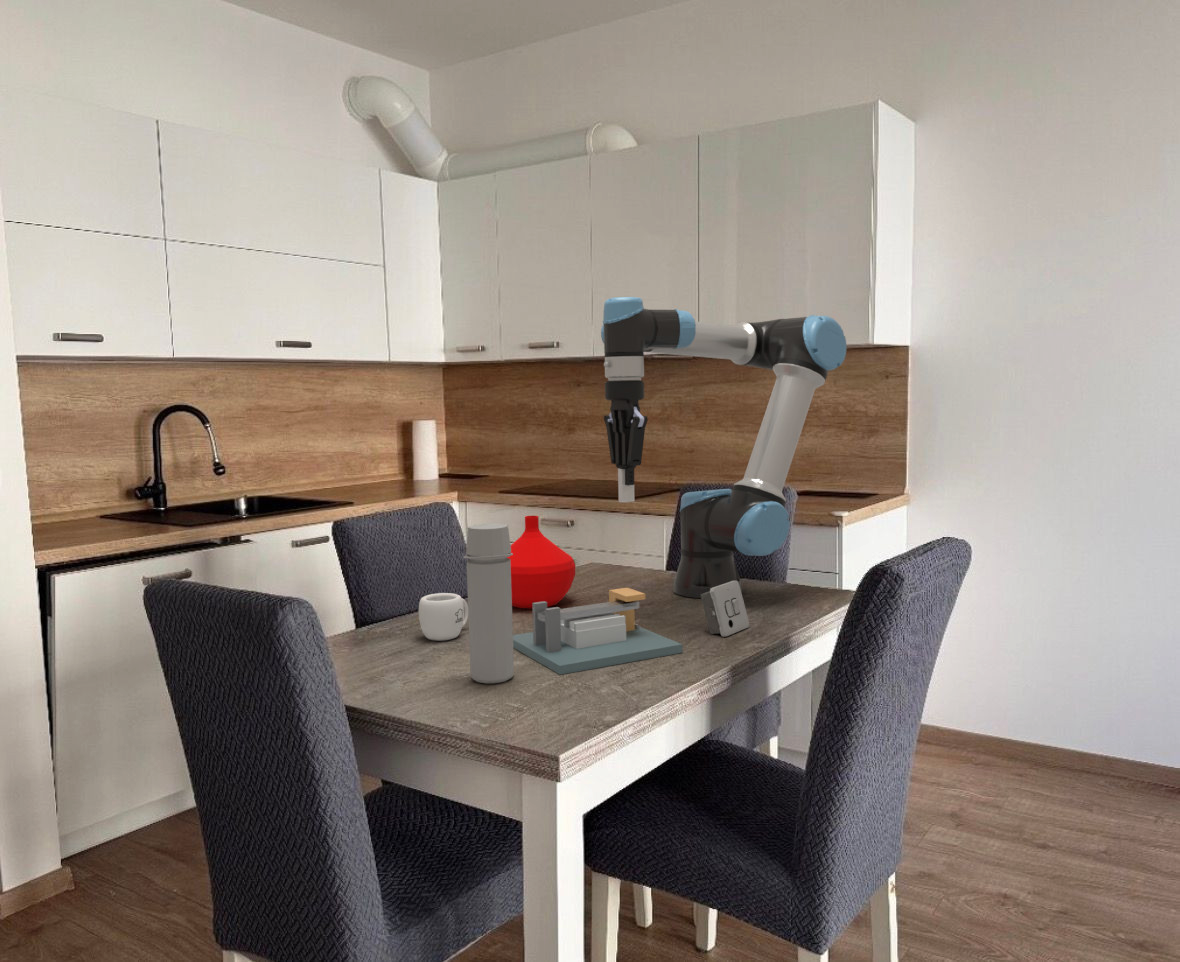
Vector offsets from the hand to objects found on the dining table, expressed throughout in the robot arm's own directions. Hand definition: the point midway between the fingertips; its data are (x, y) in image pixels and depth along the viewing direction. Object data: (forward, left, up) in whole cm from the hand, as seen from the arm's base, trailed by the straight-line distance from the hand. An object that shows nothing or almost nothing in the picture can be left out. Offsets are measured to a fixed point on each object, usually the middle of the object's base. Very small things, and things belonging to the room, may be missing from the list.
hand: (626, 501), depth 186 cm
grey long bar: (+14, +11, -18) cm, 26 cm away
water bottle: (+36, +17, -25) cm, 47 cm away
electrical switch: (-13, +14, -25) cm, 31 cm away
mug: (+33, -12, -25) cm, 43 cm away
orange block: (+6, +10, -23) cm, 26 cm away
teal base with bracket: (+14, +11, -24) cm, 30 cm away
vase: (+8, -27, -25) cm, 37 cm away
